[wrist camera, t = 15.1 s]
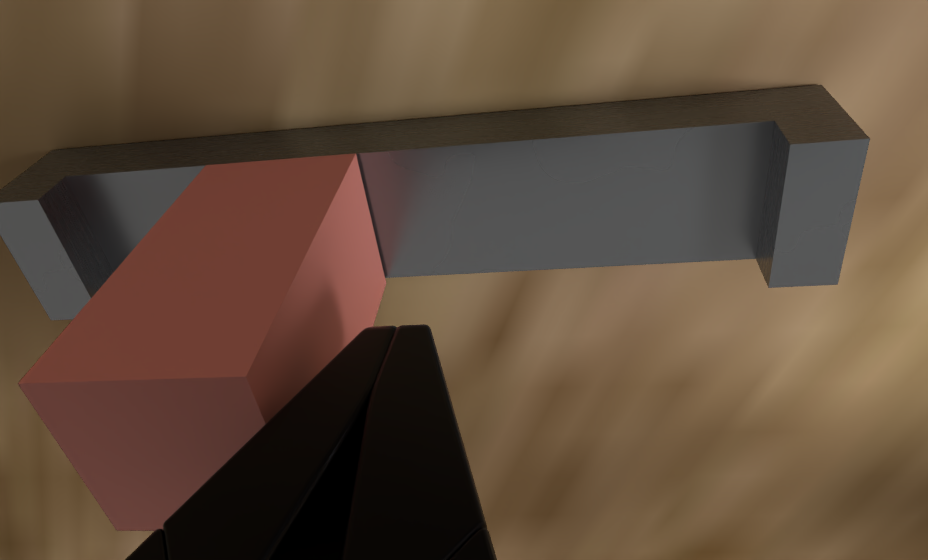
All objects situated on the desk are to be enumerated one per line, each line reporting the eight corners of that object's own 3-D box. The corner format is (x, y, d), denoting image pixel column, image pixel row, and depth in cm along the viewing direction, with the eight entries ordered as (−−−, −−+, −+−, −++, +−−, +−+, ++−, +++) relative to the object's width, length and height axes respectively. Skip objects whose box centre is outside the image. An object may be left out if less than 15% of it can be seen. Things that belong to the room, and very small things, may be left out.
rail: (821, 85, 11) (869, 138, 9) (798, 217, 12) (837, 284, 11) (52, 150, 13) (-18, 204, 11) (106, 258, 14) (50, 319, 13)
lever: (356, 153, 11) (245, 376, 7) (386, 283, 12) (309, 530, 8) (206, 165, 11) (17, 383, 7) (252, 289, 13) (116, 530, 9)
